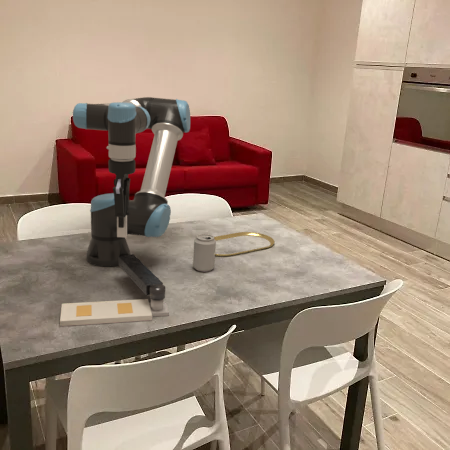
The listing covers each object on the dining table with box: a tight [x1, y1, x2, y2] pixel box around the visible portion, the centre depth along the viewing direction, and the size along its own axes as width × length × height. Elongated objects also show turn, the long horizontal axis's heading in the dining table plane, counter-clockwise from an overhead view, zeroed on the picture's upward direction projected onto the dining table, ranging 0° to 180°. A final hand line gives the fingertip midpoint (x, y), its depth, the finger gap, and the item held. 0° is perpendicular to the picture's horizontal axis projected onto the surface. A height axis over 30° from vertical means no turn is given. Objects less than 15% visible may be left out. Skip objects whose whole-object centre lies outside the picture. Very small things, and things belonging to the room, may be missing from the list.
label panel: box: [59, 298, 170, 327], centre depth 137 cm, size 10×29×4 cm, turn 105°
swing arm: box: [117, 253, 166, 300], centre depth 149 cm, size 28×5×3 cm, turn 30°
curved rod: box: [214, 231, 275, 257], centre depth 197 cm, size 19×35×2 cm, turn 126°
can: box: [192, 233, 217, 273], centre depth 171 cm, size 8×8×12 cm
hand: (122, 236), depth 148 cm, fingers closed
